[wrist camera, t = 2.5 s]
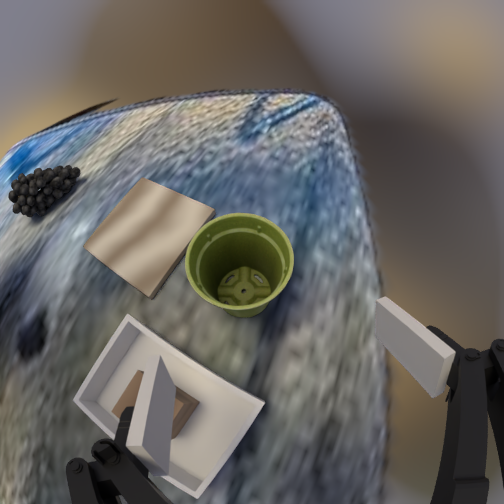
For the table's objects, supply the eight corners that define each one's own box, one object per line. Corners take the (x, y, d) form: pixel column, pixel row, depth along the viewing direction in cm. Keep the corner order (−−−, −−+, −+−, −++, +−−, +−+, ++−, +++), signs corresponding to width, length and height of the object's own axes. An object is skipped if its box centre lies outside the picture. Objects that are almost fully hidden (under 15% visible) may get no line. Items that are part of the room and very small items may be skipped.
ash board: (86, 249, 35) (82, 246, 34) (144, 181, 41) (142, 177, 40) (152, 299, 31) (148, 296, 31) (215, 213, 37) (214, 209, 36)
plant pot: (243, 241, 35) (238, 196, 27) (302, 289, 31) (315, 253, 24) (187, 293, 32) (164, 259, 24) (246, 349, 28) (239, 333, 21)
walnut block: (138, 410, 24) (111, 411, 19) (161, 375, 26) (137, 369, 21) (175, 437, 23) (155, 447, 18) (199, 401, 25) (184, 403, 20)
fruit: (65, 137, 35) (2, 178, 32) (70, 175, 34) (3, 217, 31) (83, 161, 44) (25, 196, 41) (90, 196, 43) (29, 231, 39)
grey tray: (94, 401, 25) (72, 400, 21) (144, 324, 30) (127, 313, 26) (206, 485, 21) (197, 499, 17) (264, 400, 26) (264, 402, 22)
